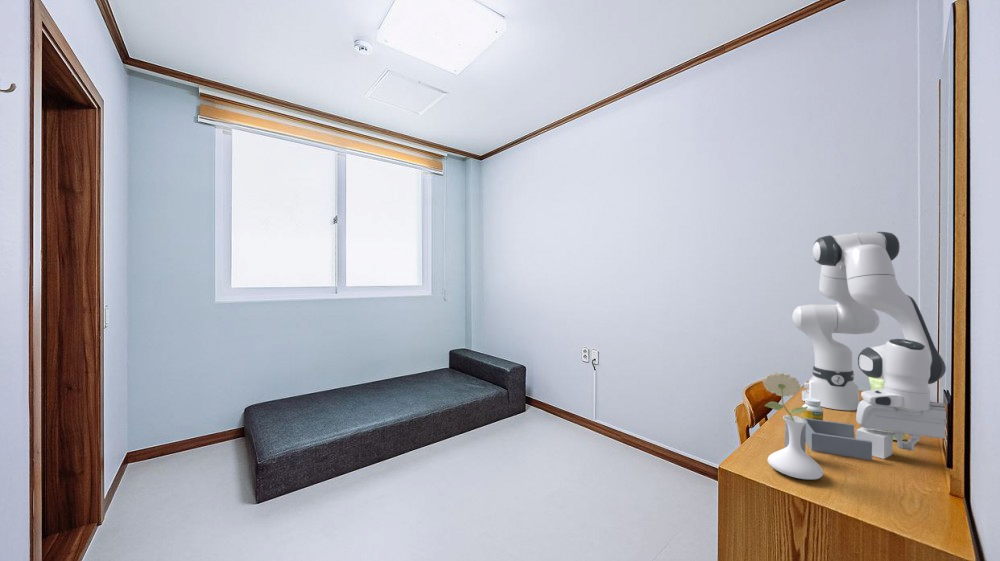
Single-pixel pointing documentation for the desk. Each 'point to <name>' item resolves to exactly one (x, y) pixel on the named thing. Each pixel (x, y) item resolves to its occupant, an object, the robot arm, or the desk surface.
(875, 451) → the white cube
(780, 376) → the flower in vase
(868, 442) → the box
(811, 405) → the supplement bottle
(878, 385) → the tube
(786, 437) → the grey hollow cylinder
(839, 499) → the desk surface
